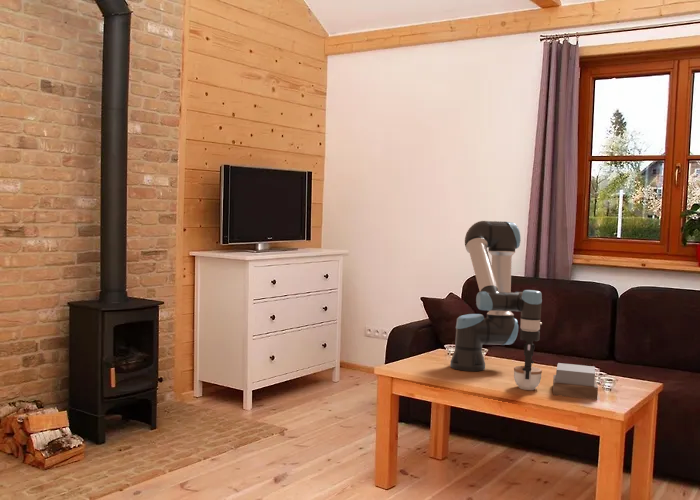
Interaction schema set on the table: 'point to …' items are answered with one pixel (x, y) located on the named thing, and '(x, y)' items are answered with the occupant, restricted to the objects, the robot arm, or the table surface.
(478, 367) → the robot arm
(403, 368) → the table surface
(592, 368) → the grey square slab
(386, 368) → the table surface
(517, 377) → the lidded jar
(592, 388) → the tower base
